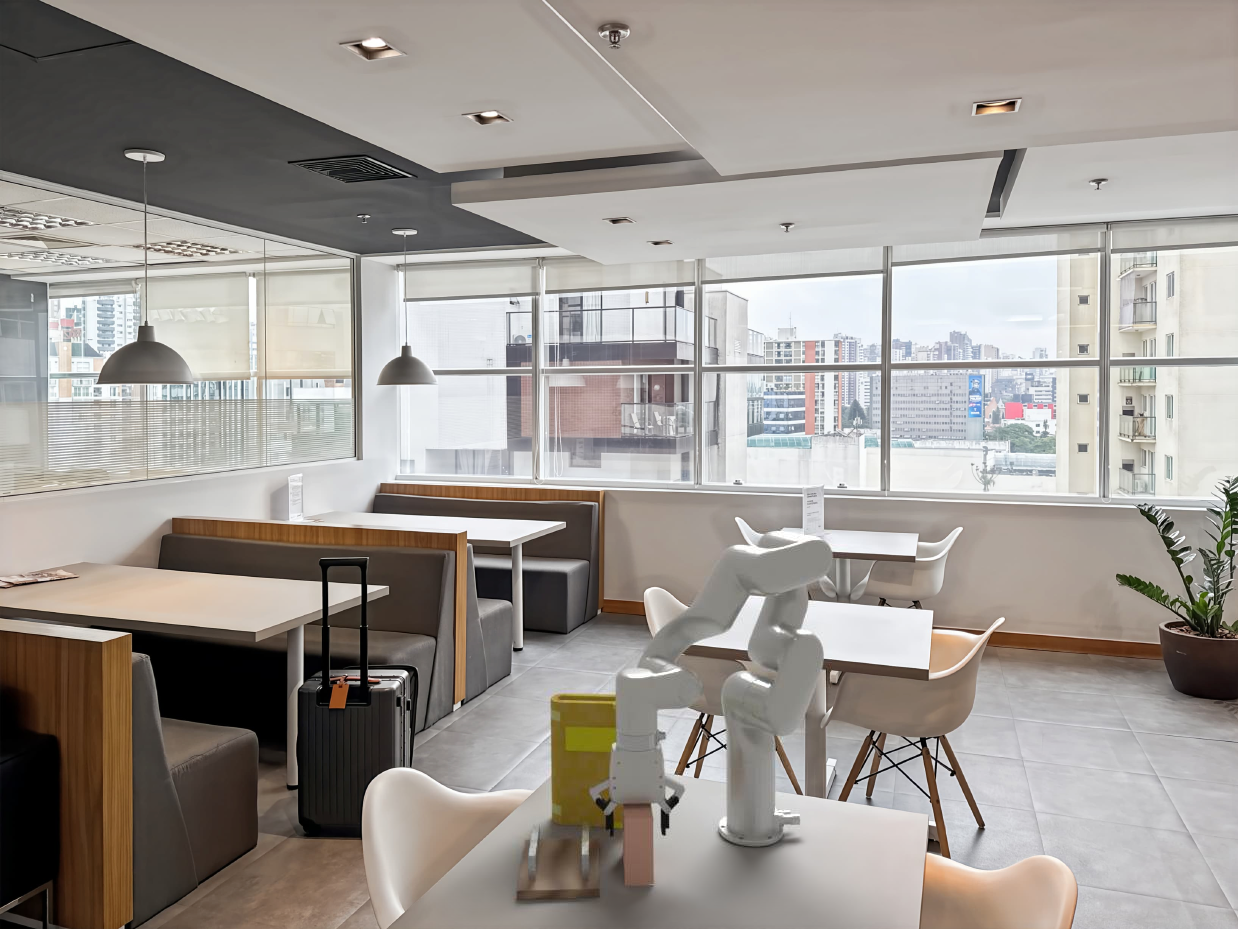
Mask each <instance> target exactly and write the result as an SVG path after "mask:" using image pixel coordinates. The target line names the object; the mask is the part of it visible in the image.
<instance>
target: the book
mask: <svg viewBox="0 0 1238 929" xmlns="http://www.w3.org/2000/svg"><path fill="white" fill-rule="evenodd" d="M613 743H616V694H615V693H614V694H613V693H612V694H607V693H606V694H605V693H572V692H571V693H570V692H569V693H566V692H565V693H564V692H563V693H558V694H554V695H552V696H551V697H550V764H551V766H550V767H551V768H550V769H551V772H550V773H551V776H550V777H551V821H552V822H553V823H555V824H557V825H562V826H563V825H564V826H582V822H589V827H590V826H591V827H606V815H605V814H604V811H602V810H601V809H600V808H599V807H598V806H597V805H596V803H595V801H594V799H593V798H592V796H591V794H590V787H591V786H593V785H595V784H597V783H598V782H600V781H602V780H604V779H605V778H607V777H609V763H610V753H611V748H612V744H613ZM599 794H600V796H601V797H602V798H603V799H605V800H606V801H607V799H608V798H609V797H610V795H609V787H608V788H606V789H604V790H602V791H601V792H599ZM613 815H614V829H623V812H622V804H617V806H616V807H615V808H614V809H613Z"/></svg>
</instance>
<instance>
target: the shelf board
mask: <svg viewBox="0 0 1238 929" xmlns="http://www.w3.org/2000/svg"><path fill="white" fill-rule="evenodd" d="M530 842H531V838H529V839H524V843H523V844H524V845H523V851H522V855H521V856H522V857H521V862H520V863H521V864H520V868H519V869H520V870H519V875H518V880H517V887H516V888H517V889H516V900H536V899H535V898H552V899H574V898H573V897H592V898H600V854H599V853H600V844H599V837H589V880H582V837H580V838H578V837H577V838H576V837H575V838H574V837H573V838H571V837H570V838H540V851H539V859H538V867H537V875H536V881H529V859H528V855H529V849H530ZM529 898H531V899H529Z"/></svg>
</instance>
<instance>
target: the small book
mask: <svg viewBox="0 0 1238 929" xmlns="http://www.w3.org/2000/svg"><path fill="white" fill-rule="evenodd" d="M622 812H623V828H622V859H623V862H622V864H623V876H624V877H623V878H624V886H625V885H643V886H650V885H649V884H655V883H654V880H655V878H654V877H655V876H654V875H655V874H654V814H653V808H652V804H622Z"/></svg>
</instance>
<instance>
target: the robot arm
mask: <svg viewBox="0 0 1238 929" xmlns="http://www.w3.org/2000/svg"><path fill="white" fill-rule="evenodd" d="M833 561H834V553H833V550H832V548H831V546H830V545H829V543H828V542H827V541H826V540H824V539H822V538H821V537H818V536H814V535H808V534H807V535H806V534H800V533H794V532H790V531H783V530H774V531H769V532H766V533H764V534H763V535H762V536H761V537H760V538H759V540H758V542H757V546H751V545H746V544H734V545H731V546H728V547H727V548H726V549H725V550H723V552H722V554H721V555H720V557H719V559H718V560H717V562H716V564H714V566H713V568H712V570H711V571H710V573H709V575H708V576H707V578H706V580H705V582H704V584H703V585H702V587H701V588H700V590H699V592H698V593H697V595H696V597H695V598H694V600H693V601H692V603H691V604H690V606H688V608H687V609H685V610H684V611H682V612H680V613H679V614H678V615H676V616H675V617H674V618H672V619H671V620H670V621H669V622H667V623H666V624H665V625H663V626H662V627H661V628H660V629H659V630H658V631H657V632H656V633H655V635H654V636H653V637H652V639H651V640H650V642H649V643H648V645H647V647H646V648H645V650H644V652H643V653H642V655H641V656H640V659H639V661H638V664H637V665H636V667H629V668H624V669H621V670H620V671H619V672H618V673H617V675H616V676H615V695H616V743H613V744H612V748H611V753H610V763H609V777H607V778H605V779H604V780H602V781H600V782H598V783H597V784H595V785H593V786H591V787H590V794H591V796H592V798H593V799H594V801H595V803H596V805H597V806H598V807H599V808H600V809H601V810H602V811H604V814H605V815H606V826H605V831H609V838H613V837H614V835H615V834H614V832H615V828H614V815H613V809H614V808H615V807H616V806H617V804H651V805H652V804H657V805H658V806H659V807H660V832H661V835H662V836H665V837H666V835H667V830H669V829H670V814H671V813H672V810H673V809H674V808H675V807H676V806H677V805H678V804H679V803H680V800H681V798H682V797H683V795H684V793H685V791H686V788H685V785H684V784H683V783H681V782H678V781H676V780H674V779H673V778H671V777H669V776H667V775H666V772H665V771H666V770H665V760H664V759H665V758H664V753H663V747H662V744H661V742H660V741H663V740H665V741H666V739H667V736H666V732H665V731H661V730H659V727H658V724H659V723H658V722H659V720H658V714H659V713H658V711H659V710H660V711H661V710H681V709H682V710H683V709H687V708H689V707H691V706H693V705H694V704H695V703H696V702H697V701H698V700H699V699H700V697H701V694H702V692H703V686H702V681H701V679H700V677H699V675H698V674H697V673H695V671H694V670H692V669H690V668H688V667H686V666H683V665H681V664H679V663H678V662H677V661H678V659H679V658H680V657H681V655H682V654H684V652H685V651H686V650H687V649H688V648H689V647H691V646H693V645H694V644H696V643H698V642H700V641H703V640H706V639H710V638H713V637H716V636H720V635H723V634H725V633H727V632H729V631H730V630H731V628H732V627H733V625H734V624H735V621H736V620H737V618H738V616H739V614H740V613H741V611H742V610H743V607H744V605H745V604H746V602H747V601H748V599H749V597H750V596H751V594H752V593H755V594H759V595H765V598H764V600H763V604H762V607H761V609H760V612H759V615H758V617H757V620H756V622H755V624H754V627H753V630H752V632H751V635H750V638H749V640H748V644H747V655H748V658H749V660H750V661H751V662H752V663H754V664H755V665H756V666H758V667H760V668H762V669H765V670H767V671H770V672H773V673H776V675H775V677H774V679H773V678H771V677H768V676H766V675H763V674H761V673H757V672H754V671H750V670H741V671H736V672H734V673H732V674H731V675H729V676H728V677H727V679H726V680H725V682H724V683H723V686H722V689H721V695H720V698H721V700H720V701H721V708H722V712H723V719H724V724H725V733H726V735H725V736H726V739H725V740H726V744H725V745H726V750H725V751H726V754H725V755H726V756H725V757H726V763H725V764H726V770H725V771H726V775H725V776H726V783H725V784H726V815H725V816H723V817H722V818H721V819H720V821H718V832H719V834H720V835H721V836H722V838H723V839H725V840H726V841H728V842H731V843H733V844H736V845H740V846H745V847H753V848H755V847H757V848H758V847H764V846H765V847H766V846H769V845H773V844H775V843H777V842H779V841H780V840H781V839H782V838H783V835H784V827H785V825H787V826H788V825H790V826H800V824H801V817H800V814H799V813H796V814H795V813H794V814H793V813H792V812H791V810H790V809H784V810H779V809H777V807H776V753H777V752H776V741H775V740H776V739H775V736H777V737H787V736H789V735H792V734H793V733H794V732H795V731H796V730H797V729H798V728H799V727H800V725H801V724H802V722H803V720H804V718H805V716H806V713H807V710H808V708H809V705H810V703H811V699H812V698H813V695H814V692H815V689H816V687H817V684H818V682H819V681H818V680H819V678H820V676H821V672H822V671H823V666H824V656H825V655H824V647H823V644H822V641H821V640H820V638H819V637H817V635H816V634H814V632H811V631H809V630H806V629H803V628H802V627H803V624H804V621H805V618H806V615H807V613H808V612H807V611H808V607H809V593H808V588H807V586H808V585H809V584H813V583H816V582H818V581H820V580H821V579H823V578H824V577H825V576H826V575H827V574H828V573H829V572H830V570H831V568H832V565H833ZM608 787H609V795H610V797H609V798H608V799H607V801H606V800H605V799H603V798H602V797H601V796H600V794H599V792H601V791H602V790H604V789H606V788H608ZM667 788H669V789H671V790H673V791H674V793H673V794H671V795H670V796H669V798H667V797H666V792H667V791H666V789H667ZM791 813H792V814H791Z"/></svg>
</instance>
